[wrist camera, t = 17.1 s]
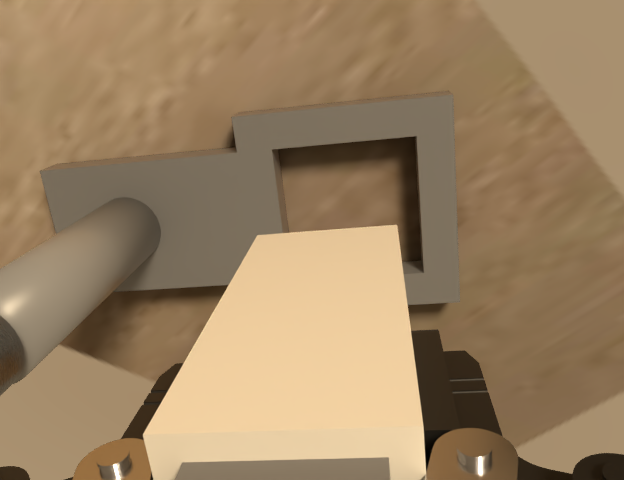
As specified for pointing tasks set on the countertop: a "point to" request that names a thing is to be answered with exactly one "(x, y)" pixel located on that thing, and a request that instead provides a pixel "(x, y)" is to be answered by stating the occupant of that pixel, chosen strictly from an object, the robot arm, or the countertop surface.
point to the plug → (300, 369)
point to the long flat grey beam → (9, 355)
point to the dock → (215, 213)
